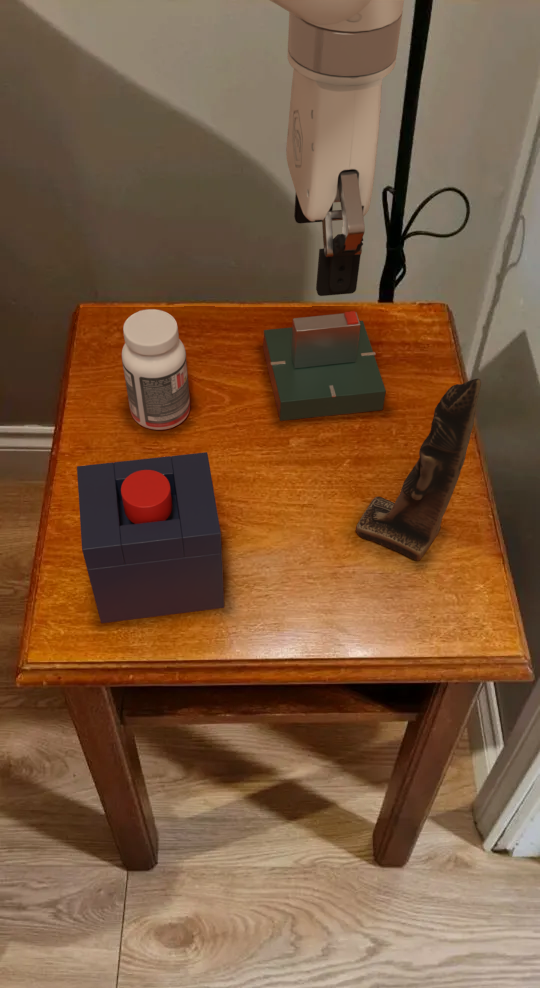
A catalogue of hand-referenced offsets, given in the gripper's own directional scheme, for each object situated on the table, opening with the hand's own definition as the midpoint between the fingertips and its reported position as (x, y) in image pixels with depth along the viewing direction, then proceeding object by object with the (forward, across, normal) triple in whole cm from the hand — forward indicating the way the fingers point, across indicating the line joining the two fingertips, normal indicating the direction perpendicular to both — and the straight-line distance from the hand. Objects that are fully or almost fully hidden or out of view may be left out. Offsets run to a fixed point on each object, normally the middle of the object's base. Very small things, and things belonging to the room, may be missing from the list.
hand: (323, 255), depth 76 cm
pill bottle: (+15, +1, -15) cm, 21 cm away
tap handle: (+12, -1, +1) cm, 12 cm away
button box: (+15, +20, -17) cm, 30 cm away
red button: (+6, +20, -17) cm, 27 cm away
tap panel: (+15, -1, +1) cm, 15 cm away
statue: (+15, +19, +4) cm, 25 cm away
